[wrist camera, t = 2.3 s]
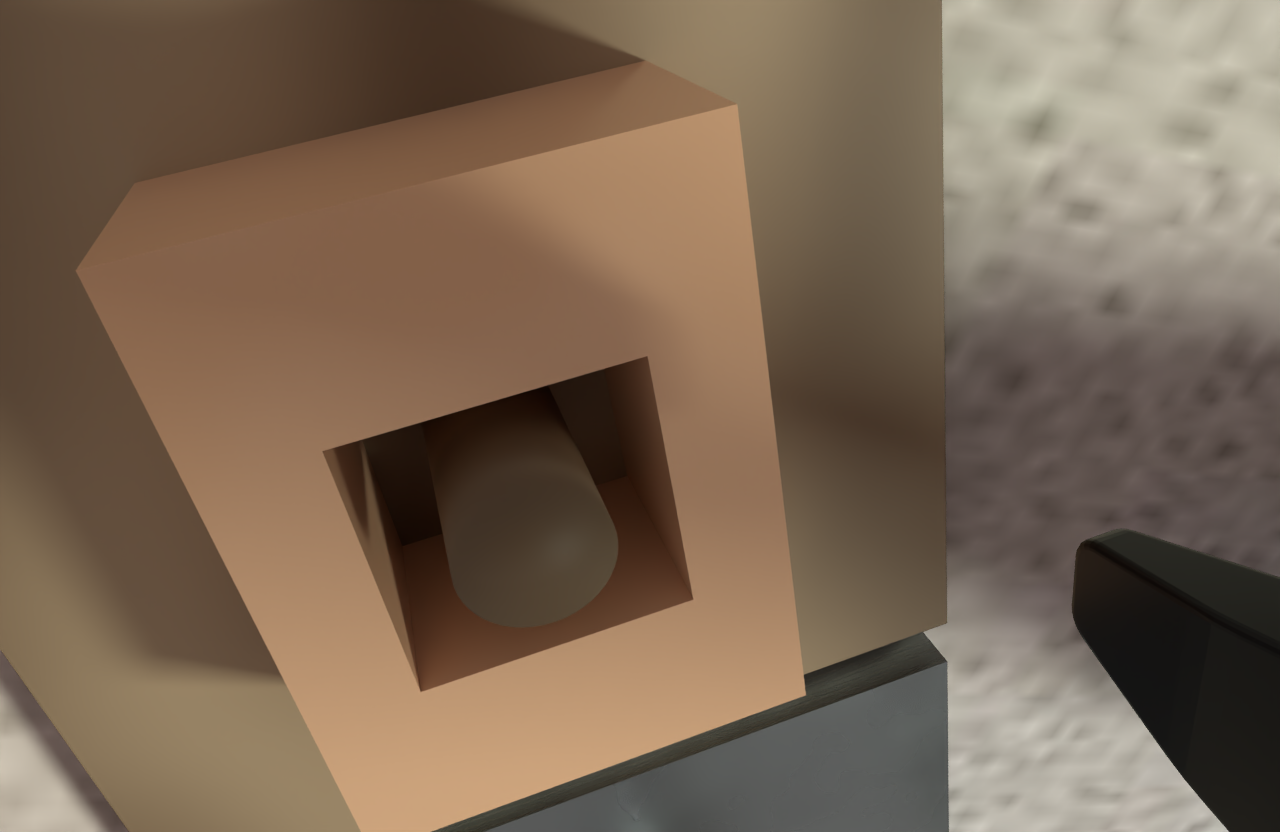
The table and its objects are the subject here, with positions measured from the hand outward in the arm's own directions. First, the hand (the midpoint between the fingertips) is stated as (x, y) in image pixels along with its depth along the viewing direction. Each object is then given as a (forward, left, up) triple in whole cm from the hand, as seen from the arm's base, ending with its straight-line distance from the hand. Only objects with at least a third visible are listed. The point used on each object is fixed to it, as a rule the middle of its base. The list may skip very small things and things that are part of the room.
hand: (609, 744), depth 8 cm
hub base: (0, +15, -7) cm, 17 cm away
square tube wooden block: (0, 0, -6) cm, 6 cm away
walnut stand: (0, 0, -7) cm, 7 cm away
